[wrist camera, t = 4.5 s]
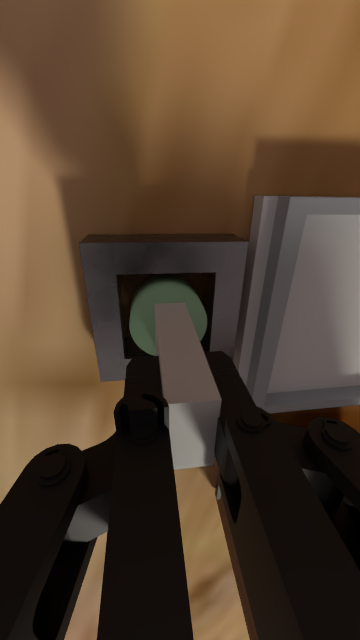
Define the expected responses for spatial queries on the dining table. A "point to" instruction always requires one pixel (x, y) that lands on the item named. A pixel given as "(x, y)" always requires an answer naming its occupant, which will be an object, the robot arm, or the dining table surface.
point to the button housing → (158, 258)
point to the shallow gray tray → (301, 304)
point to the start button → (162, 291)
